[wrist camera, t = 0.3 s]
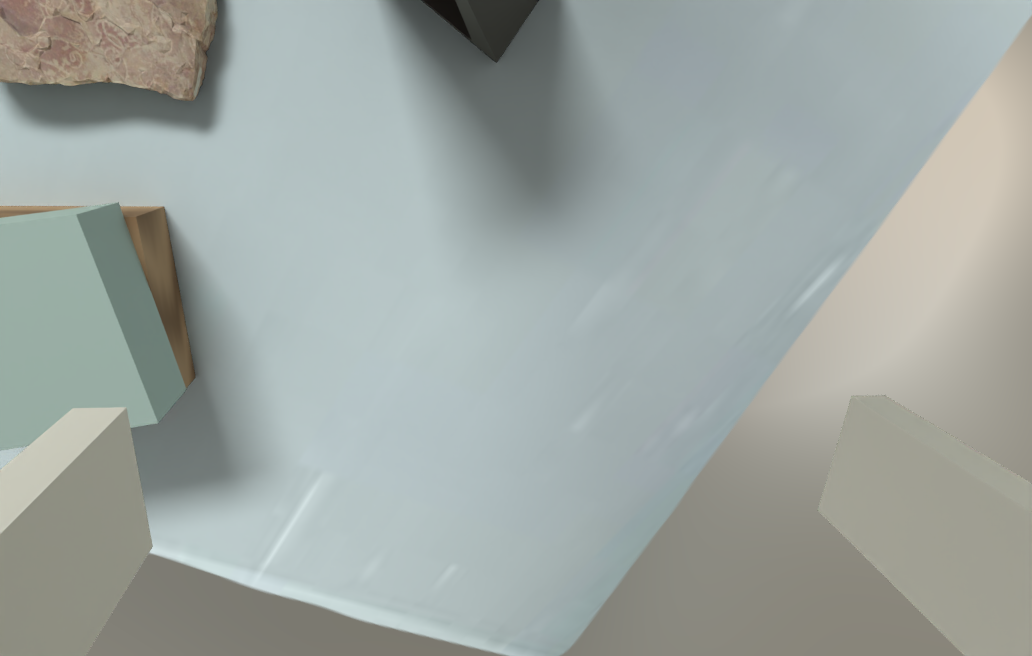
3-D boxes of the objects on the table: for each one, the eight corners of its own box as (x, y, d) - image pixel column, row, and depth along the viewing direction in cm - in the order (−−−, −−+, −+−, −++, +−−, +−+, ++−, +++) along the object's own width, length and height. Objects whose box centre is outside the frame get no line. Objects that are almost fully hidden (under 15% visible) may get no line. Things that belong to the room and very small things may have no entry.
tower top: (-115, 233, 28) (-195, 250, 25) (118, 202, 30) (75, 214, 26) (-16, 423, 32) (-72, 462, 29) (186, 389, 34) (158, 423, 30)
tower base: (-46, 204, 32) (-107, 216, 28) (167, 205, 34) (135, 216, 30) (9, 382, 36) (-38, 412, 32) (197, 374, 37) (173, 403, 34)
